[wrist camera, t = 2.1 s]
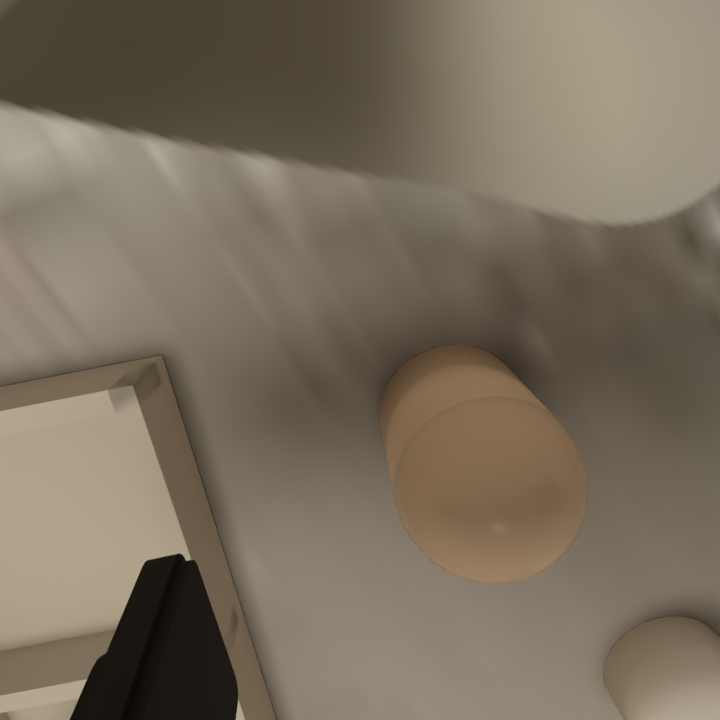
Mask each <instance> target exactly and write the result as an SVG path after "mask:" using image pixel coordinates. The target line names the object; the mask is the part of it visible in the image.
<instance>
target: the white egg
mask: <svg viewBox="0 0 720 720" xmlns="http://www.w3.org/2000/svg"><path fill="white" fill-rule="evenodd" d="M603 677H604V683H605V686H606V688H607V690H608V692H609V694H610V696H611V697H612V699H613V701H614V703H615V705H616V707H617V708H618V710H619V712H620V714H621V716H622V718H623V720H720V638H719V637H718V636H717V635H716V634H715V632H714V631H713V630H712V629H711V628H710V627H708V626H707V625H706V624H704V623H702V622H700V621H698V620H695V619H692V618H688V617H681V616H668V617H661V618H657V619H653V620H650V621H647V622H645V623H642V624H640V625H638V626H636V627H635V628H633V629H631V630H630V631H629V632H627V633H626V634H625V635H623V636H622V637H621V638H620V639H619V640H618V641H617V642H616V644H615V645H614V646H613V647H612V649H611V650H610V652H609V654H608V656H607V658H606V661H605V664H604V670H603Z"/></svg>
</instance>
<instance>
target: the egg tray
mask: <svg viewBox="0 0 720 720" xmlns="http://www.w3.org/2000/svg"><path fill="white" fill-rule="evenodd" d="M179 553H180V554H182V555H183V556H184V558H185V560H186V561H188V560H195V562H196V563H197V565H198V568H199V571H200V574H201V576H202V579H203V582H204V585H205V588H206V591H207V594H208V597H209V600H210V603H211V606H212V609H213V612H214V614H215V617H216V620H217V623H218V626H219V629H220V632H221V635H222V638H223V641H224V644H225V647H226V650H227V652H228V655H229V658H230V661H231V664H232V667H233V670H234V673H235V676H236V680H237V685H238V706H237V713H236V720H276V717H275V714H274V711H273V707H272V704H271V701H270V698H269V695H268V691H267V688H266V685H265V682H264V679H263V676H262V672H261V669H260V666H259V663H258V660H257V656H256V653H255V650H254V647H253V644H252V640H251V637H250V634H249V631H248V628H247V624H246V621H245V618H244V615H243V612H242V609H241V605H240V602H239V599H238V596H237V593H236V589H235V586H234V583H233V580H232V577H231V573H230V570H229V567H228V564H227V561H226V557H225V554H224V551H223V548H222V545H221V542H220V538H219V535H218V532H217V529H216V526H215V522H214V519H213V516H212V513H211V510H210V506H209V503H208V500H207V497H206V494H205V490H204V487H203V484H202V481H201V478H200V475H199V471H198V468H197V465H196V462H195V459H194V455H193V452H192V449H191V446H190V443H189V439H188V436H187V433H186V430H185V427H184V423H183V420H182V417H181V414H180V411H179V408H178V404H177V401H176V398H175V395H174V392H173V388H172V385H171V382H170V379H169V376H168V372H167V369H166V366H165V363H164V360H163V356H162V355H160V356H154V357H149V358H144V359H139V360H134V361H129V362H124V363H119V364H114V365H109V366H103V367H98V368H93V369H88V370H83V371H78V372H73V373H68V374H63V375H58V376H52V377H47V378H42V379H37V380H32V381H27V382H22V383H17V384H12V385H7V386H1V387H0V720H70V718H71V715H72V713H73V711H74V708H75V706H76V704H77V701H78V699H79V697H80V695H81V692H82V690H83V688H84V685H85V683H86V681H87V678H88V676H89V674H90V672H91V669H92V667H93V666H94V664H95V662H96V660H97V659H98V658H99V657H101V656H102V655H103V654H106V652H107V650H108V647H109V645H110V643H111V640H112V638H113V635H114V633H115V631H116V628H117V626H118V623H119V621H120V619H121V616H122V614H123V612H124V609H125V607H126V604H127V602H128V600H129V597H130V595H131V592H132V590H133V588H134V585H135V583H136V581H137V578H138V576H139V573H140V571H141V569H142V566H143V564H144V563H145V562H146V561H147V560H151V559H155V558H160V557H165V556H169V555H174V554H179Z"/></svg>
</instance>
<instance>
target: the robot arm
mask: <svg viewBox="0 0 720 720" xmlns="http://www.w3.org/2000/svg"><path fill="white" fill-rule="evenodd" d="M237 706H238V685H237V680H236V676H235V673H234V670H233V667H232V664H231V661H230V658H229V655H228V652H227V650H226V647H225V644H224V641H223V638H222V635H221V632H220V629H219V626H218V623H217V620H216V617H215V614H214V612H213V609H212V606H211V603H210V600H209V597H208V594H207V591H206V588H205V585H204V582H203V579H202V576H201V574H200V571H199V568H198V565H197V563H196V562H195V560H188V561H186V560H185V558H184V556H183V555H182V554H180V553H179V554H174V555H169V556H165V557H160V558H155V559H151V560H147V561H146V562H145V563H144V564H143V566H142V569H141V571H140V573H139V576H138V578H137V581H136V583H135V585H134V588H133V590H132V592H131V595H130V597H129V600H128V602H127V604H126V607H125V609H124V612H123V614H122V616H121V619H120V621H119V623H118V626H117V628H116V631H115V633H114V635H113V638H112V640H111V643H110V645H109V647H108V650H107V652H106V654H103V655H102V656H101V657H99V658H98V659H97V660H96V662H95V664H94V666H93V667H92V669H91V672H90V674H89V676H88V678H87V681H86V683H85V685H84V688H83V690H82V692H81V695H80V697H79V699H78V701H77V704H76V706H75V708H74V711H73V713H72V715H71V718H70V720H236V713H237Z"/></svg>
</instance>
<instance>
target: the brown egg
mask: <svg viewBox="0 0 720 720" xmlns="http://www.w3.org/2000/svg"><path fill="white" fill-rule="evenodd" d="M379 419H380V427H381V432H382V437H383V442H384V447H385V453H386V458H387V463H388V468H389V473H390V478H391V483H392V488H393V493H394V498H395V503H396V506H397V510H398V513H399V516H400V519H401V521H402V524H403V526H404V528H405V530H406V531H407V533H408V535H409V536H410V538H411V539H412V541H413V543H414V544H415V545H416V546H417V547H418V549H419V550H420V551H421V552H422V553H423V554H424V555H425V556H426V557H427V558H428V559H429V560H431V561H432V562H433V563H434V564H436V565H437V566H439V567H440V568H442V569H443V570H445V571H447V572H448V573H450V574H452V575H454V576H457V577H459V578H462V579H465V580H469V581H472V582H477V583H482V584H507V583H514V582H518V581H522V580H525V579H528V578H531V577H533V576H535V575H537V574H539V573H541V572H543V571H544V570H546V569H548V568H549V567H550V566H552V565H553V564H554V563H555V562H557V561H558V560H559V559H560V558H561V557H562V556H563V555H564V554H565V553H566V552H567V550H568V549H569V548H570V547H571V545H572V544H573V542H574V540H575V539H576V537H577V535H578V533H579V530H580V528H581V526H582V523H583V520H584V517H585V514H586V507H587V499H588V484H587V477H586V471H585V466H584V463H583V460H582V457H581V455H580V452H579V450H578V448H577V446H576V444H575V442H574V440H573V439H572V438H571V436H570V435H569V433H568V432H567V430H566V429H565V428H564V426H563V425H562V424H561V423H560V422H559V421H558V420H557V419H556V418H555V417H554V416H553V415H552V414H551V413H550V412H549V411H548V409H547V408H546V407H545V406H544V405H543V404H542V403H541V402H540V401H539V400H538V399H537V398H536V397H535V396H534V395H533V394H532V392H531V391H530V390H529V389H528V388H527V387H526V386H525V385H524V384H523V383H522V382H521V381H520V380H519V379H518V378H517V377H516V376H515V374H514V373H513V372H512V371H511V370H510V369H509V368H508V367H507V366H506V365H505V364H504V363H503V362H502V361H501V360H500V359H498V358H497V357H496V356H494V355H492V354H491V353H489V352H487V351H485V350H482V349H480V348H476V347H472V346H467V345H445V346H439V347H435V348H431V349H429V350H426V351H424V352H422V353H420V354H418V355H416V356H414V357H413V358H411V359H410V360H409V361H407V362H406V363H405V364H404V365H403V366H401V367H400V368H399V369H398V371H397V372H396V373H395V374H394V375H393V377H392V378H391V380H390V381H389V383H388V385H387V387H386V389H385V391H384V393H383V397H382V400H381V405H380V418H379Z"/></svg>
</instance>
